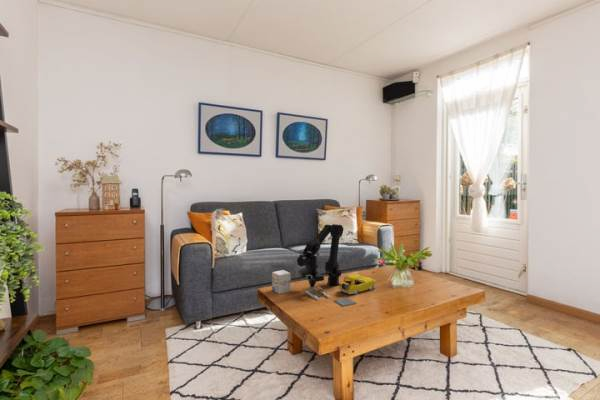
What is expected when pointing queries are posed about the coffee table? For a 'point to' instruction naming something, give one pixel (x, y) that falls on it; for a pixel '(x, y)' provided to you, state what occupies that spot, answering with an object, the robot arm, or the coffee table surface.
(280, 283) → the ink box
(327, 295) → the acrylic channel
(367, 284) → the toy car
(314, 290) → the walnut block
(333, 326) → the coffee table surface
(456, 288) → the coffee table surface
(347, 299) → the slate coaster
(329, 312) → the coffee table surface
